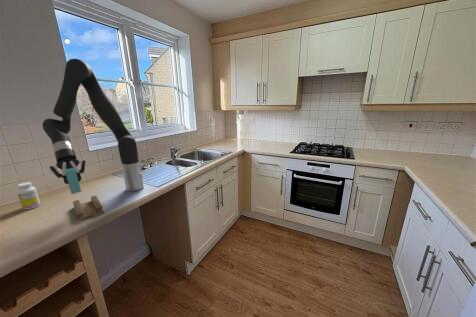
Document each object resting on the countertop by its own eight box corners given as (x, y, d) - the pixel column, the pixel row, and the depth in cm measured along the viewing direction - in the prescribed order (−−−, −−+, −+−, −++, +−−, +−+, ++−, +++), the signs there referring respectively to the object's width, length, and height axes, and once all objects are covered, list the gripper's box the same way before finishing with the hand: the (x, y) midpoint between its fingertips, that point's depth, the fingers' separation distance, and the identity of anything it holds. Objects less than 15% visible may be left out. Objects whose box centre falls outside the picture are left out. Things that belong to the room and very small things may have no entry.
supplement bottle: (27, 204, 105) (20, 182, 102) (43, 202, 108) (36, 180, 104) (19, 211, 99) (11, 187, 96) (36, 208, 102) (29, 185, 98)
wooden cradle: (97, 201, 109) (96, 195, 108) (103, 213, 97) (102, 206, 96) (74, 207, 102) (72, 201, 101) (77, 221, 90) (76, 214, 89)
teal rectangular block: (79, 188, 98) (74, 167, 95) (81, 191, 94) (75, 169, 91) (70, 190, 96) (64, 169, 93) (71, 194, 92) (65, 171, 89)
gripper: (43, 150, 90) (51, 183, 85) (82, 145, 99) (91, 174, 94) (46, 159, 95) (54, 190, 90) (83, 153, 105) (92, 181, 99)
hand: (73, 182), depth 92 cm, fingers closed on teal rectangular block, 3 cm apart
